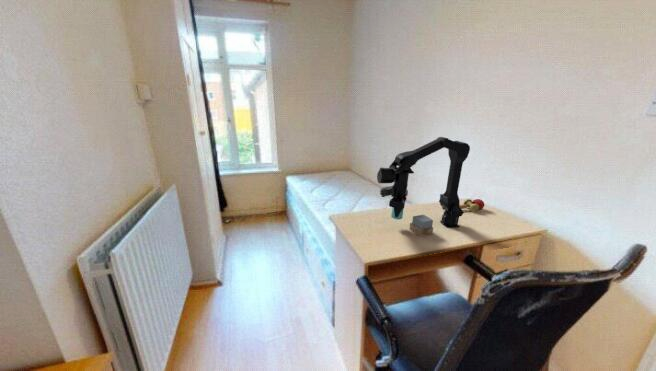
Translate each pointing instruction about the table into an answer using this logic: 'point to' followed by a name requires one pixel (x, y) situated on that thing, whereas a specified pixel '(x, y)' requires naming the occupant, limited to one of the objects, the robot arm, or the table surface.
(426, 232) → the lower block
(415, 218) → the upper block
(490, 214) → the table surface
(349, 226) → the table surface
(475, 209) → the kendama
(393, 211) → the teal rounded dome
